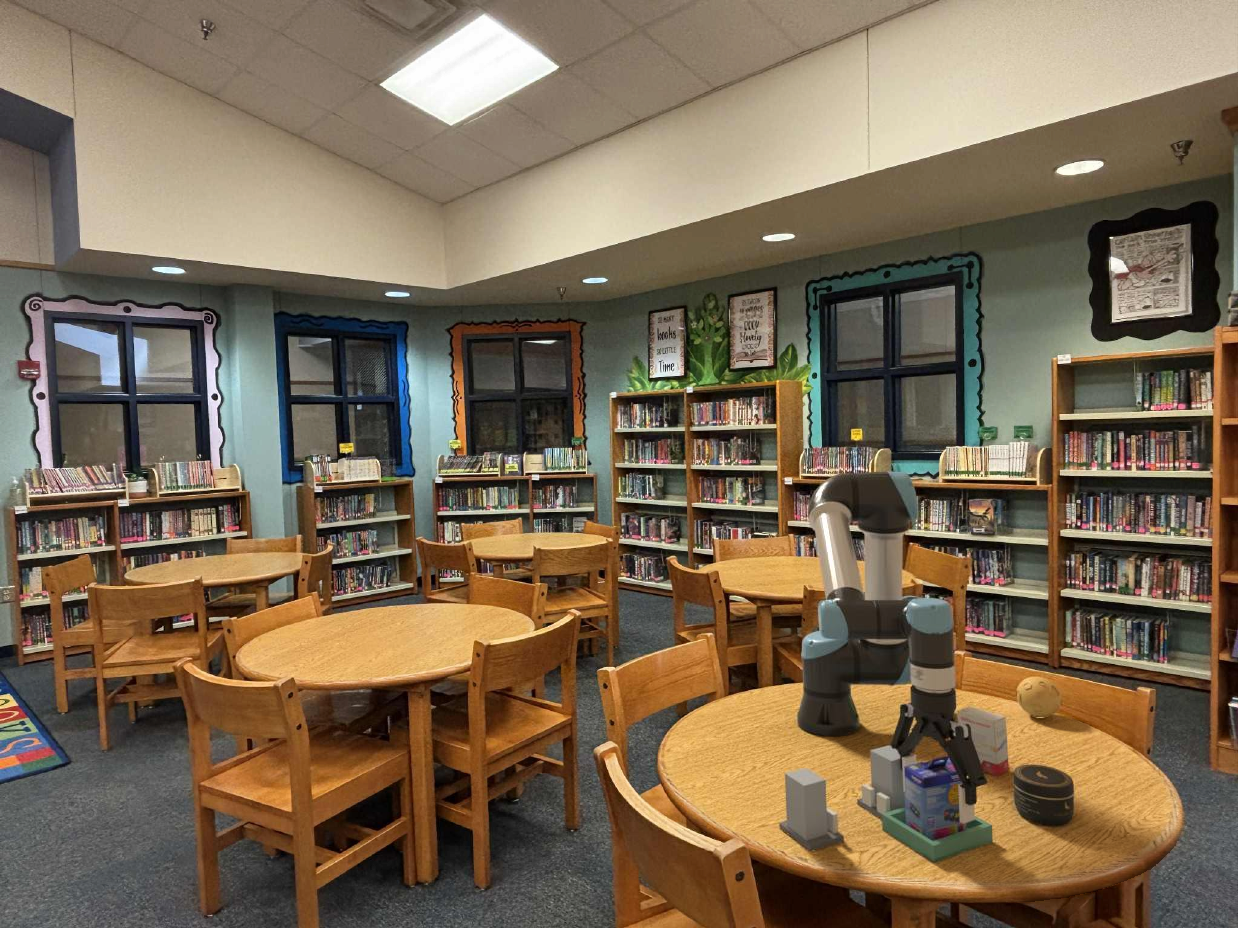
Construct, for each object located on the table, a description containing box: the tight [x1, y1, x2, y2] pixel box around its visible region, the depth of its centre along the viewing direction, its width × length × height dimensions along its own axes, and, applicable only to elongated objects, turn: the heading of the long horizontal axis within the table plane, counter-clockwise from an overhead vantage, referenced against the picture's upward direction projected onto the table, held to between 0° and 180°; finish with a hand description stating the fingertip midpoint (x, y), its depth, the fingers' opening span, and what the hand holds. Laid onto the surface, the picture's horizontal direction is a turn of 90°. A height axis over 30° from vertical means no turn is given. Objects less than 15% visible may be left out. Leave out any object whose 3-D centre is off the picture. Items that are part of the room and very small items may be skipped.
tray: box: [881, 807, 994, 864], centre depth 132 cm, size 12×14×3 cm
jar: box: [1012, 764, 1075, 828], centre depth 138 cm, size 10×10×8 cm
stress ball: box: [1015, 676, 1063, 718], centre depth 184 cm, size 10×10×10 cm
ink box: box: [956, 706, 1010, 777], centre depth 158 cm, size 9×5×12 cm, turn 33°
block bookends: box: [778, 745, 905, 852], centre depth 138 cm, size 9×26×11 cm, turn 114°
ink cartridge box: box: [904, 755, 967, 841], centre depth 132 cm, size 10×6×14 cm, turn 108°
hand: (937, 804), depth 132 cm, fingers open, 12 cm apart
